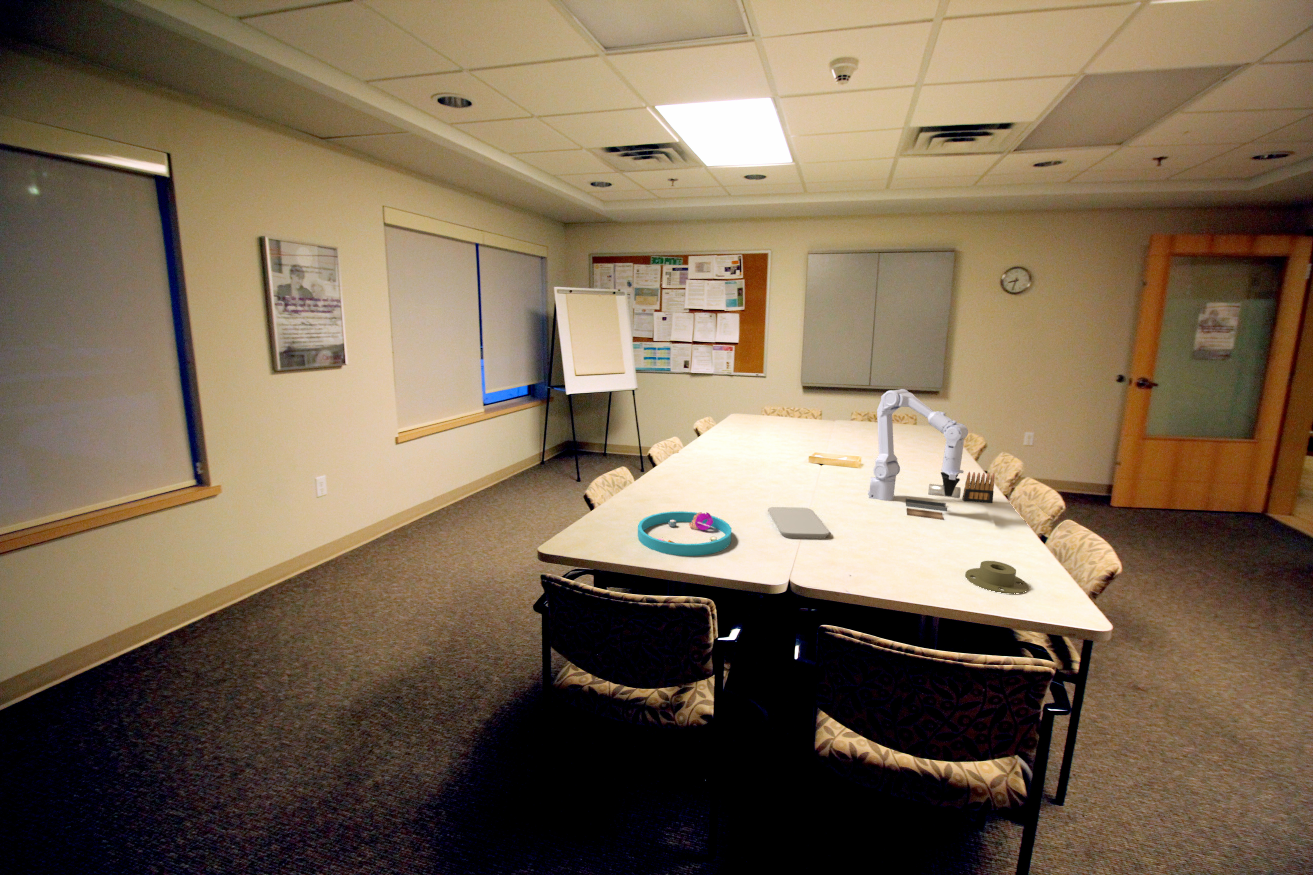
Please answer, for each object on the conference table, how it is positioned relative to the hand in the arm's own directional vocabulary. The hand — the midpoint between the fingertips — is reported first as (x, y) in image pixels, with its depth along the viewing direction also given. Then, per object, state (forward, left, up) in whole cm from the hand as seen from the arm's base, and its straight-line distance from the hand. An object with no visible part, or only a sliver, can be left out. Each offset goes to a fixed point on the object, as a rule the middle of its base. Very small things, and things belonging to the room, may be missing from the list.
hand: (947, 494), depth 208 cm
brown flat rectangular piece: (-7, -3, -9) cm, 12 cm away
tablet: (-49, -31, -9) cm, 59 cm away
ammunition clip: (+14, +27, -9) cm, 32 cm away
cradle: (-6, +8, -9) cm, 13 cm away
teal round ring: (-81, -58, -10) cm, 100 cm away
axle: (-1, 0, -1) cm, 2 cm away
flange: (+8, -53, -10) cm, 55 cm away
